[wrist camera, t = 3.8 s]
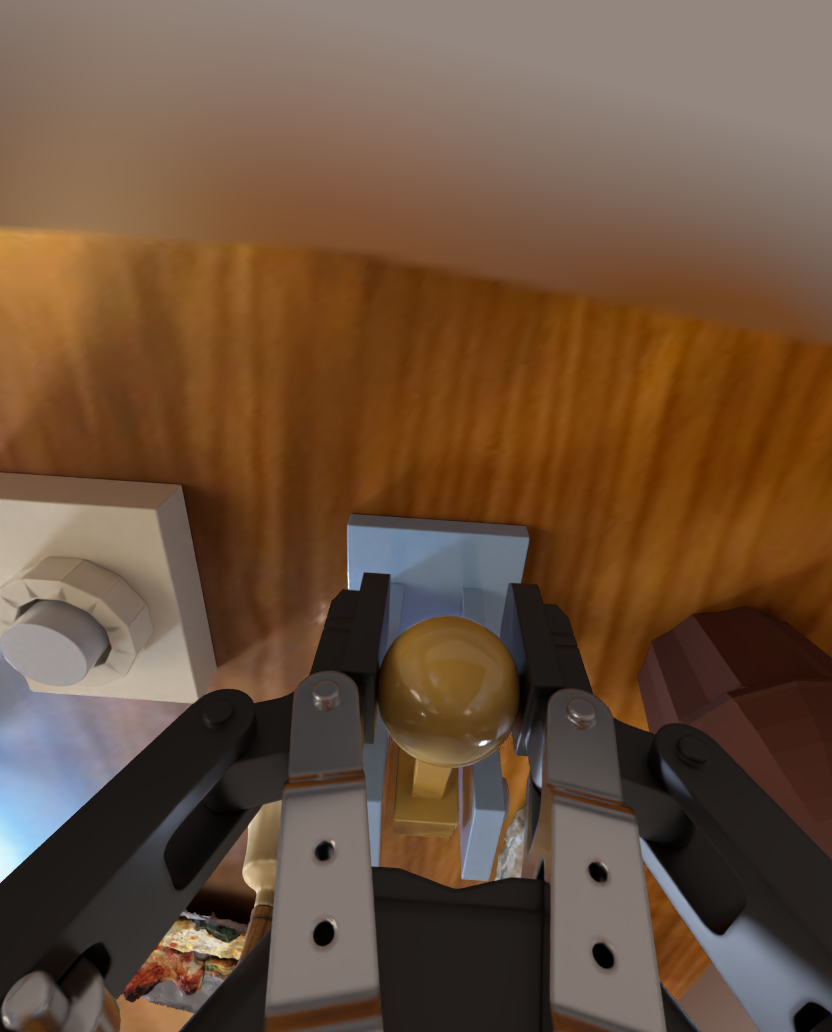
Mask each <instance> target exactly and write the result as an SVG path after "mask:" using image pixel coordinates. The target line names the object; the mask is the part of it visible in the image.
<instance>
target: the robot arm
mask: <svg viewBox="0 0 832 1032" xmlns="http://www.w3.org/2000/svg"><path fill="white" fill-rule="evenodd" d="M390 582H391V575H390V574H383V573H369V572H364V574H363V577H362V582H361V586H360V591H359V590H345V589H343V590H342V591H341V592H340V593H339V594H338V595H337V596H336V597H335V598H334V599H333V600H332V601H331V605H330V608H329V612H328V615H327V618H326V622H325V625H324V630H323V632H322V635H321V639H320V642H319V645H318V649H317V652H316V655H315V659H314V662H313V666H312V669H311V672H310V675H309V676H308V677H307V678H305V679H304V680H303V681H302V682H301V683H300V684H299V685H298V686H297V688H296V690H295V691H294V692H293V693H291V694H289V695H287V696H284V697H281V698H277V699H273V700H268V701H263V702H258V703H253V701H252V699H251V698H250V697H249V696H248V695H247V694H246V693H244V692H242V691H239V690H235V689H221V690H217V691H213V692H211V693H208V694H206V695H204V696H202V697H201V698H199V699H198V700H197V701H196V702H194V703H193V704H192V705H191V706H190V707H189V708H188V709H187V710H186V711H185V712H183V713H182V714H181V715H180V716H179V717H178V718H177V719H176V720H175V721H174V722H173V723H172V724H171V725H170V726H168V727H167V728H166V729H165V730H164V731H163V732H162V733H161V734H160V735H159V736H158V737H157V738H156V739H154V740H153V741H152V742H151V743H150V744H149V745H148V746H147V747H146V748H145V749H144V750H143V751H142V752H141V753H139V754H138V755H137V756H136V757H135V758H134V759H133V760H132V761H131V762H130V763H129V764H128V765H127V766H125V767H124V768H123V769H122V770H121V771H120V772H119V773H118V774H117V775H116V776H115V777H114V778H113V779H112V780H110V781H109V782H108V783H107V784H106V785H105V786H104V787H103V788H102V789H101V790H100V791H99V792H98V793H96V794H95V795H94V796H93V797H92V798H91V799H90V800H89V801H88V802H87V803H86V804H85V805H84V806H83V807H81V808H80V809H79V810H78V811H77V812H76V813H75V814H74V815H73V816H72V817H71V818H70V819H69V820H67V821H66V822H65V823H64V824H63V825H62V826H61V827H60V828H59V829H58V830H57V831H56V832H55V833H53V834H52V835H51V836H50V837H49V838H48V839H47V840H46V841H45V842H44V843H43V844H42V845H41V846H40V847H38V848H37V849H36V850H35V851H34V852H33V853H32V854H31V855H30V856H29V857H28V858H27V859H26V860H24V861H23V862H22V863H21V864H20V865H19V866H18V867H17V868H16V869H15V870H14V871H13V872H12V873H11V874H9V875H8V876H7V877H6V878H5V879H4V880H3V881H2V882H1V883H0V1032H119V1031H120V1021H121V1018H120V1009H119V1006H118V1003H117V1001H116V1000H117V999H118V998H119V996H120V995H121V994H122V992H123V991H124V990H125V988H126V987H127V986H128V984H129V983H130V982H131V980H132V979H133V978H134V976H135V975H136V974H137V972H138V971H139V970H140V968H141V967H142V966H143V964H144V963H145V962H146V960H147V959H148V958H149V956H150V955H151V954H152V952H153V951H154V950H155V948H156V947H157V946H158V944H159V943H160V942H161V940H162V939H163V938H164V936H165V935H166V934H167V932H168V931H169V930H170V928H171V927H172V926H173V924H174V923H175V922H176V921H177V919H178V918H179V917H180V915H181V914H182V913H183V911H184V910H185V909H186V907H187V906H188V905H189V903H190V902H191V901H192V899H193V898H194V897H195V895H196V894H197V893H198V891H199V890H200V889H201V887H202V886H203V885H204V883H205V882H206V881H207V879H208V878H209V877H210V875H211V874H212V873H213V871H214V870H215V869H216V867H217V866H218V865H219V863H220V862H221V861H222V859H223V858H224V857H225V855H226V854H227V853H228V851H229V850H230V849H231V847H232V846H233V845H234V844H235V842H236V841H237V840H238V838H239V837H240V836H241V834H242V833H243V832H244V830H245V829H246V828H247V826H248V825H249V824H250V822H251V821H252V820H253V818H254V817H255V816H256V814H257V813H258V812H259V810H260V809H261V807H262V806H263V805H265V804H268V803H272V802H276V801H280V800H282V804H281V817H280V830H279V842H278V855H277V867H276V880H275V892H274V905H273V918H272V927H271V928H270V929H269V931H268V932H267V933H266V934H265V935H264V936H263V937H262V938H261V940H260V941H259V942H258V943H257V944H256V945H255V946H254V947H253V949H252V950H251V951H250V952H249V953H248V954H247V955H246V956H245V958H244V959H243V960H242V961H241V962H240V963H239V964H238V966H237V967H236V968H235V969H234V970H233V971H232V972H231V973H230V975H229V976H228V977H227V978H226V979H225V980H224V981H223V982H222V984H221V985H220V986H219V987H218V988H217V989H216V990H215V991H214V993H213V994H212V995H211V996H210V997H209V998H208V999H207V1000H206V1002H205V1003H204V1004H203V1005H202V1006H201V1007H200V1008H199V1009H198V1011H197V1012H196V1013H195V1014H194V1015H193V1016H192V1017H191V1018H190V1020H189V1021H188V1022H187V1023H186V1024H185V1025H184V1026H183V1027H182V1029H181V1030H180V1031H179V1032H701V1031H700V1029H699V1028H698V1027H697V1026H696V1025H695V1023H694V1022H693V1021H692V1020H691V1019H690V1017H689V1016H688V1015H687V1014H686V1012H685V1011H684V1010H683V1009H682V1007H681V1006H680V1005H679V1004H678V1003H677V1001H676V1000H675V999H674V998H673V996H672V995H671V994H670V993H669V992H668V990H667V989H666V988H665V987H664V985H663V984H662V983H661V982H660V980H659V973H658V966H657V959H656V951H655V944H654V937H653V930H652V923H651V916H650V908H649V901H648V894H647V887H646V880H645V872H644V865H643V862H644V863H645V865H646V866H647V868H648V869H649V871H650V872H651V874H652V875H653V877H654V878H655V879H656V881H657V882H658V884H659V885H660V887H661V888H662V890H663V891H664V893H665V894H666V896H667V897H668V898H669V900H670V901H671V903H672V904H673V906H674V907H675V909H676V910H677V912H678V913H679V915H680V916H681V917H682V919H683V920H684V922H685V923H686V925H687V926H688V928H689V929H690V931H691V932H692V934H693V935H694V936H695V938H696V939H697V941H698V942H699V944H700V945H701V947H702V948H703V950H704V951H705V953H706V954H707V955H708V957H709V958H710V960H711V961H712V963H713V964H714V966H715V967H716V969H717V970H718V971H719V973H720V974H721V976H722V977H723V979H724V980H725V982H726V983H727V985H728V986H729V988H730V989H731V990H732V992H733V993H734V995H735V996H736V998H737V999H738V1001H739V1002H740V1004H741V1005H742V1007H743V1008H744V1009H745V1011H746V1012H747V1014H748V1015H749V1017H750V1018H751V1020H752V1021H753V1023H754V1024H755V1026H756V1027H757V1028H758V1030H759V1031H760V1032H832V859H831V858H830V857H829V856H828V855H827V854H826V853H825V852H824V851H823V850H822V849H821V848H820V847H819V846H818V845H817V844H816V843H815V842H814V841H813V840H812V839H811V838H810V837H809V836H808V835H807V834H806V833H805V832H804V831H803V830H802V829H801V828H800V827H799V826H798V825H797V824H796V823H795V822H794V821H793V820H792V819H791V818H790V817H789V815H788V814H787V813H786V812H785V811H784V810H783V809H782V808H781V807H780V806H779V805H778V804H777V803H776V802H775V801H774V800H773V799H772V798H771V797H770V796H769V795H768V794H767V793H766V792H765V791H764V790H763V789H762V788H761V787H760V786H759V785H758V784H757V783H756V782H755V781H754V780H753V779H752V778H751V777H750V776H749V775H748V774H747V773H746V772H745V771H744V770H743V769H742V767H741V766H740V765H739V764H738V763H737V762H736V761H735V760H734V759H733V758H732V757H731V756H730V755H729V754H728V753H727V752H726V751H725V750H724V749H723V748H722V747H721V746H720V745H719V744H718V743H717V742H716V741H715V740H714V739H713V738H711V737H710V736H709V735H707V734H706V733H704V732H703V731H701V730H699V729H697V728H695V727H692V726H689V725H686V724H680V723H670V724H666V725H664V726H662V727H661V728H660V729H659V730H658V731H657V733H656V734H653V733H650V732H647V731H644V730H641V729H638V728H635V727H633V726H630V725H627V724H625V723H623V722H621V721H619V720H617V719H615V718H614V717H613V716H612V713H611V711H610V710H609V708H608V707H607V706H606V705H605V703H604V702H603V701H601V700H600V699H599V698H598V697H596V696H595V695H594V694H593V692H592V689H591V686H590V682H589V679H588V676H587V673H586V670H585V667H584V664H583V661H582V658H581V655H580V652H579V649H578V648H577V643H576V640H575V637H574V636H573V630H572V627H571V624H570V621H569V618H568V617H567V616H566V615H565V614H564V613H563V612H562V610H561V609H560V608H559V607H558V606H557V605H552V604H543V601H542V598H541V594H540V590H539V587H538V585H535V584H521V583H509V585H508V589H507V595H506V600H505V606H504V611H503V617H502V622H501V629H500V639H501V641H502V642H503V643H504V644H505V646H506V647H507V649H508V650H509V652H510V653H511V655H512V657H513V659H514V661H515V664H516V667H517V670H518V673H519V677H520V684H521V703H520V709H519V713H518V717H517V720H516V722H515V725H514V727H513V729H512V737H513V744H514V751H515V755H520V756H528V758H529V764H530V772H529V776H528V780H527V791H526V810H525V828H524V847H523V863H522V872H521V878H516V877H510V878H505V879H501V880H496V881H492V882H488V883H483V884H479V885H474V886H470V887H466V888H461V889H453V888H450V887H447V886H445V885H442V884H439V883H437V882H434V881H431V880H429V879H426V878H424V877H421V876H418V875H416V874H413V873H410V872H408V871H405V870H402V869H400V868H387V867H374V866H371V851H370V837H369V822H368V808H367V793H366V780H365V773H364V769H363V755H362V753H363V746H364V743H365V744H374V738H375V730H376V723H377V715H378V703H377V682H378V673H379V668H380V665H381V662H382V660H383V657H384V655H385V653H386V647H387V639H388V628H389V609H390Z"/></svg>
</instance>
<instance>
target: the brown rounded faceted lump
mask: <svg viewBox="0 0 832 1032" xmlns="http://www.w3.org/2000/svg"><path fill="white" fill-rule="evenodd" d="M637 677H638V682H639V686H640V691H641V695H642V700H643V704H644V708H645V713H646V717H647V722H648V726H649V731H650V733H653V734H656V733H657V731H658V730H659V729H660V728H661V727H662V726H664V725H666V724H670V723H680V724H686V725H689V726H692V727H695V728H697V729H699V730H701V731H703V732H704V733H706V734H707V735H709V736H710V737H711V738H713V739H714V740H715V741H716V742H717V743H718V744H719V745H720V746H721V747H722V748H723V749H724V750H725V751H726V752H727V753H728V754H729V755H730V756H731V757H732V758H733V759H734V760H735V761H736V762H737V763H738V764H739V765H740V766H741V767H742V769H743V770H744V771H745V772H746V773H747V774H748V775H749V776H750V777H751V778H752V779H753V780H754V781H755V782H756V783H757V784H758V785H759V786H760V787H761V788H762V789H763V790H764V791H765V792H766V793H767V794H768V795H769V796H770V797H771V798H772V799H773V800H774V801H775V802H776V803H777V804H778V805H779V806H780V807H781V808H782V809H783V810H784V811H785V812H786V813H787V814H788V815H789V817H790V818H791V819H792V820H793V821H794V822H795V823H796V824H797V825H798V826H799V827H800V828H801V829H802V830H803V831H804V832H805V833H806V834H807V835H808V836H809V837H810V838H811V839H812V840H813V841H814V842H815V843H816V844H817V845H818V846H819V847H820V848H821V849H822V850H823V851H824V852H825V853H826V854H827V855H828V856H829V857H830V858H831V859H832V658H831V657H830V656H828V655H827V654H826V653H825V652H823V651H822V650H821V649H820V648H818V647H817V646H816V645H815V644H813V643H812V642H811V641H810V640H808V639H807V638H806V637H805V636H803V635H802V634H801V633H800V632H798V631H797V630H796V629H795V628H793V627H792V626H791V625H790V624H788V623H787V622H783V621H780V620H776V619H773V618H769V617H766V616H764V615H762V614H760V613H758V612H756V611H754V610H752V609H750V608H748V607H741V608H736V609H731V610H727V611H722V612H715V613H702V614H692V615H691V616H690V617H688V618H687V619H686V620H684V621H683V622H682V623H681V624H679V625H678V626H677V627H675V628H674V629H673V630H671V631H669V632H667V633H666V634H664V635H662V636H660V637H658V638H657V639H655V640H653V641H651V644H650V647H649V651H648V655H647V658H646V661H645V662H644V664H643V666H642V668H641V670H640V671H639V673H638V675H637Z"/></svg>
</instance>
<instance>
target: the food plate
mask: <svg viewBox="0 0 832 1032" xmlns="http://www.w3.org/2000/svg"><path fill="white" fill-rule="evenodd" d="M247 929H248V924H239V923H237V922H235V921H231V920H230V919H222V920H221V919H217V917H216V915H215V913H214V912H212V915H211V916H204V915H203V916H200V915H199V914H196V913H195V912H194V913H189V912H187V910H185V912H183V913H182V914H181V915H180V917H179V918H178V919H177V921H176V922H175V923H174V924H173V926H172V927H171V928H170V930H169V931H168V932H167V934H166V935H165V936H164V938H163V939H162V940H161V942H160V943H159V944H158V946H157V947H156V948H155V950H154V951H153V952H152V954H151V955H150V956H149V958H148V959H147V960H146V962H145V963H144V964H143V966H142V967H141V968H140V970H139V971H138V972H137V974H136V975H135V976H134V978H133V979H132V980H131V982H130V983H129V984H128V986H127V987H126V988H125V990H124V991H123V992H122V995H123V996H124V997H125V999H126V1000H127V1001H130V1002H134V1001H135V1000H136V999H139V998H140V997H142V998H146V999H147V1001H149V1002H151V1003H152V1002H153V1003H155V1004H157V1005H158V1003H160V1005H166V1006H167V1007H172V1008H176V1009H178V1010H179V1009H180V1010H181V1009H182V1010H183V1011H184V1010H186V1011H188V1012H191V1013H196V1012H197V1011H198V1009H199V1008H200V1007H201V1006H202V1005H203V1004H204V1003H205V1002H206V1000H207V999H208V998H209V997H210V996H211V995H212V994H213V993H214V991H215V990H216V989H217V988H218V987H219V986H220V985H221V984H222V982H223V981H224V980H225V979H226V978H227V977H228V976H229V975H230V973H231V972H232V971H233V970H234V969H235V968H236V965H237V963H238V961H239V958H240V955H241V952H242V949H243V945H244V941H245V936H246V933H247Z"/></svg>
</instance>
